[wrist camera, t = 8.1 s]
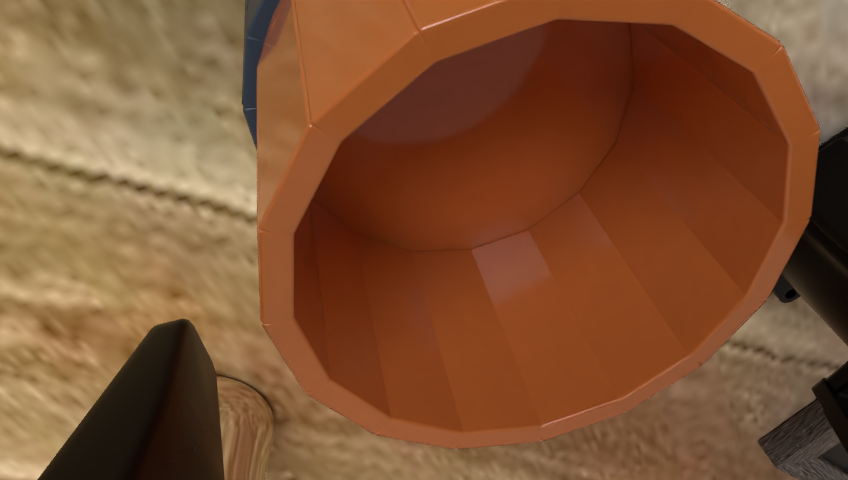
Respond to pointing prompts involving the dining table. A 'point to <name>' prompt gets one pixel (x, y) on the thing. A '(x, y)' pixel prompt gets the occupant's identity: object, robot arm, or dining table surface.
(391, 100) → the cup
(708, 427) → the dining table surface
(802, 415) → the picture frame
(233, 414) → the beer glass
